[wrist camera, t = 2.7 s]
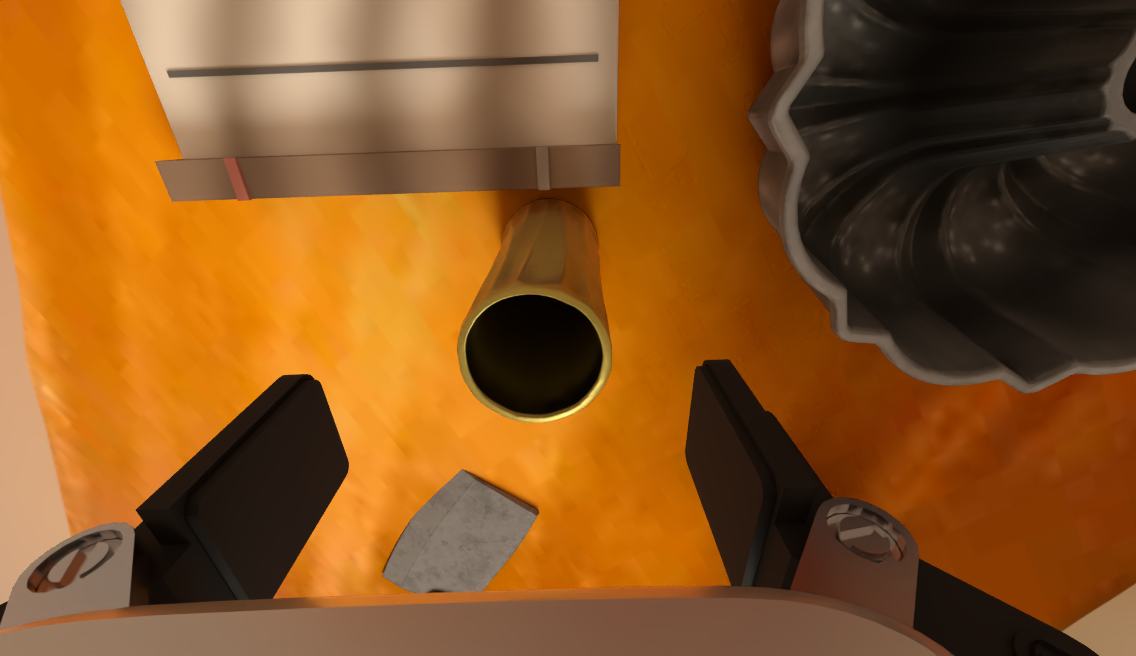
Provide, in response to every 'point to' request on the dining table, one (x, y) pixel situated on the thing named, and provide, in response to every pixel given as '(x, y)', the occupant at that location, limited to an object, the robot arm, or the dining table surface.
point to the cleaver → (459, 538)
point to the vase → (539, 319)
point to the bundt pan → (960, 180)
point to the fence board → (382, 95)
